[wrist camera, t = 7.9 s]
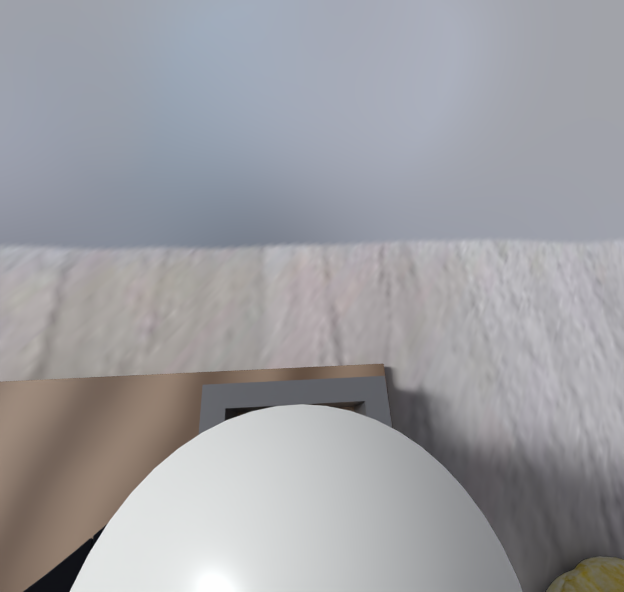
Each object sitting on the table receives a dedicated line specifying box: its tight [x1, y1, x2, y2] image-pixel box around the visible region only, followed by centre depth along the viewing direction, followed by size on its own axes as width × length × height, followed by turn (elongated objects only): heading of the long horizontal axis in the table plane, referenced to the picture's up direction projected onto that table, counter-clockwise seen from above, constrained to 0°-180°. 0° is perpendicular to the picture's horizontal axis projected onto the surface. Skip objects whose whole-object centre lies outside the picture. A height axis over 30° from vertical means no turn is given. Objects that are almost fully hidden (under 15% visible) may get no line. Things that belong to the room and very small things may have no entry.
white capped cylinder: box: [70, 404, 523, 592], centre depth 9 cm, size 5×5×12 cm
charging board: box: [0, 364, 393, 592], centre depth 18 cm, size 24×12×1 cm, turn 93°
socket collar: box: [199, 376, 392, 434], centre depth 16 cm, size 9×9×4 cm
